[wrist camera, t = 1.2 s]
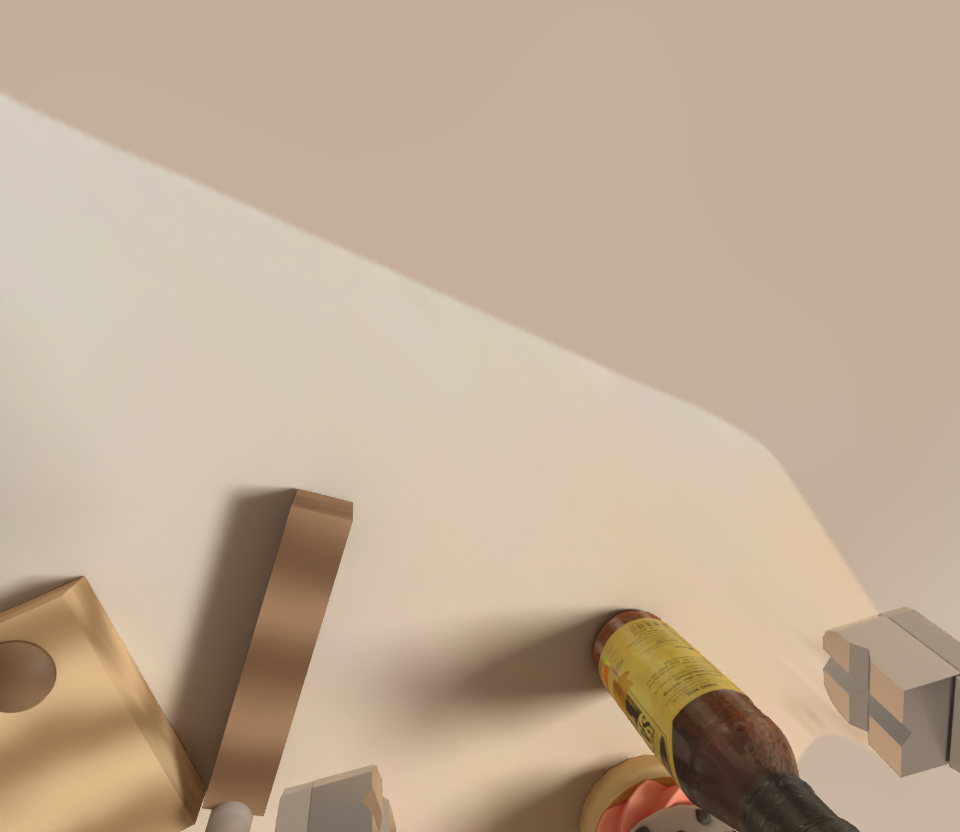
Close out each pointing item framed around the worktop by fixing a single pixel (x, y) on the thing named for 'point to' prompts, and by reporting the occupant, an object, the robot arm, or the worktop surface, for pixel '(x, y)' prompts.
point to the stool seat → (84, 727)
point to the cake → (643, 802)
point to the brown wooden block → (277, 660)
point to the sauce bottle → (706, 730)
